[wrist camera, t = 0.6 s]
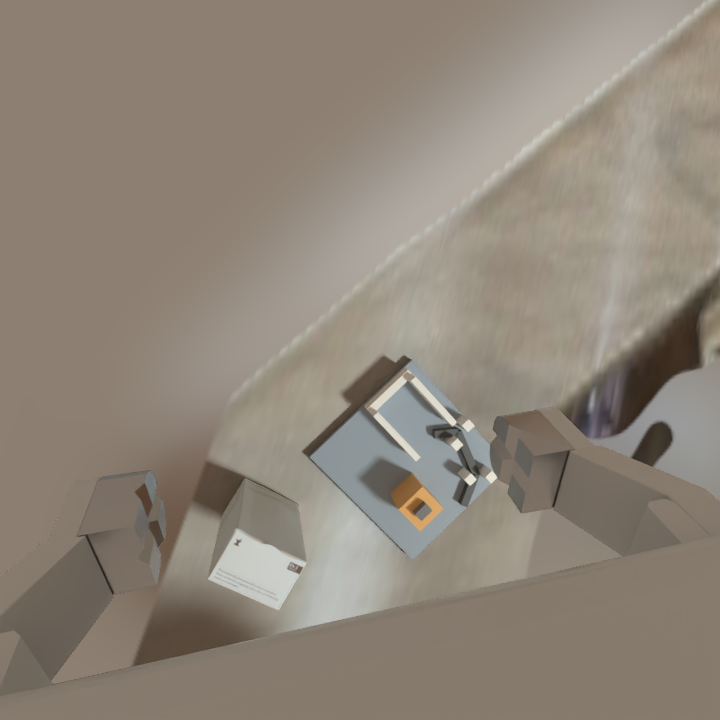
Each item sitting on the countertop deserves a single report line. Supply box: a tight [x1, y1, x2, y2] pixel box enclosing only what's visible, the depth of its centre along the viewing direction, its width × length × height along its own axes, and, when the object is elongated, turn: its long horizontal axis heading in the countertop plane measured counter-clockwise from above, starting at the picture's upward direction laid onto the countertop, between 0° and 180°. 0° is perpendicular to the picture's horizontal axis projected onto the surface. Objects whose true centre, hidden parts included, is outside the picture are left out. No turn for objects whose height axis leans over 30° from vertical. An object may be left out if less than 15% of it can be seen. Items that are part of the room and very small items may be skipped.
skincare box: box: [208, 478, 307, 610], centre depth 53 cm, size 8×6×15 cm
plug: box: [390, 473, 444, 531], centre depth 59 cm, size 4×4×6 cm
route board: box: [309, 359, 497, 560], centre depth 60 cm, size 20×18×4 cm
